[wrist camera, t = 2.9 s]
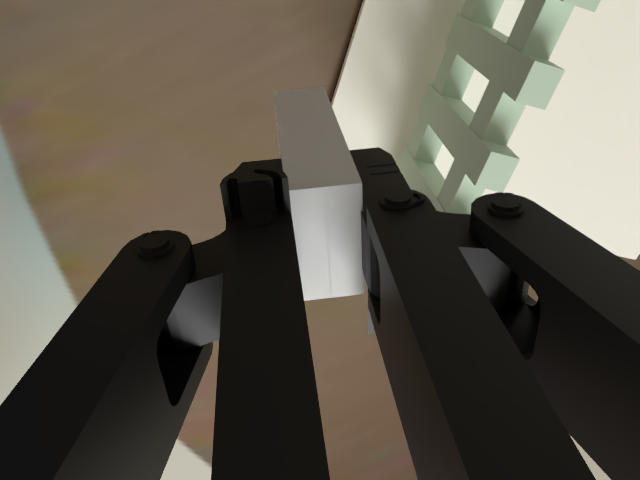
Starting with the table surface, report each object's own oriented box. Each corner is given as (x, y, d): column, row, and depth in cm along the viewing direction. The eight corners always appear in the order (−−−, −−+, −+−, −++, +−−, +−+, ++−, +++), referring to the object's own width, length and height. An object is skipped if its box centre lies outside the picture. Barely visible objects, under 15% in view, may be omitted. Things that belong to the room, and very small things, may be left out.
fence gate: (496, -89, 20) (600, -78, 14) (521, -79, 20) (633, -65, 14) (389, 184, 25) (432, 275, 19) (410, 189, 25) (458, 280, 20)
